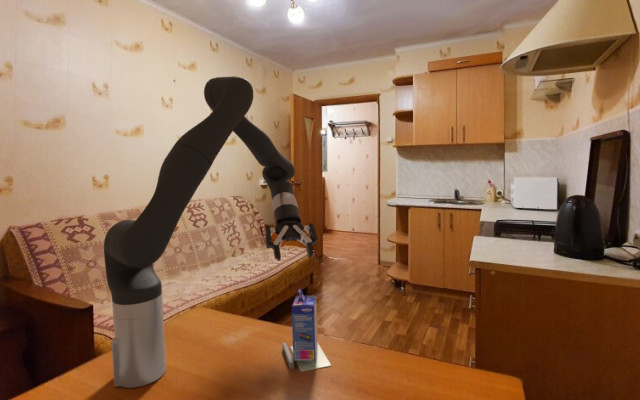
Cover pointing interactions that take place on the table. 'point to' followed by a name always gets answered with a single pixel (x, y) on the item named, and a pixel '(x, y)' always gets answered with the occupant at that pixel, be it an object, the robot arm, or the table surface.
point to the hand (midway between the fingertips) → (295, 258)
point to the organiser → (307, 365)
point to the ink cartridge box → (304, 327)
